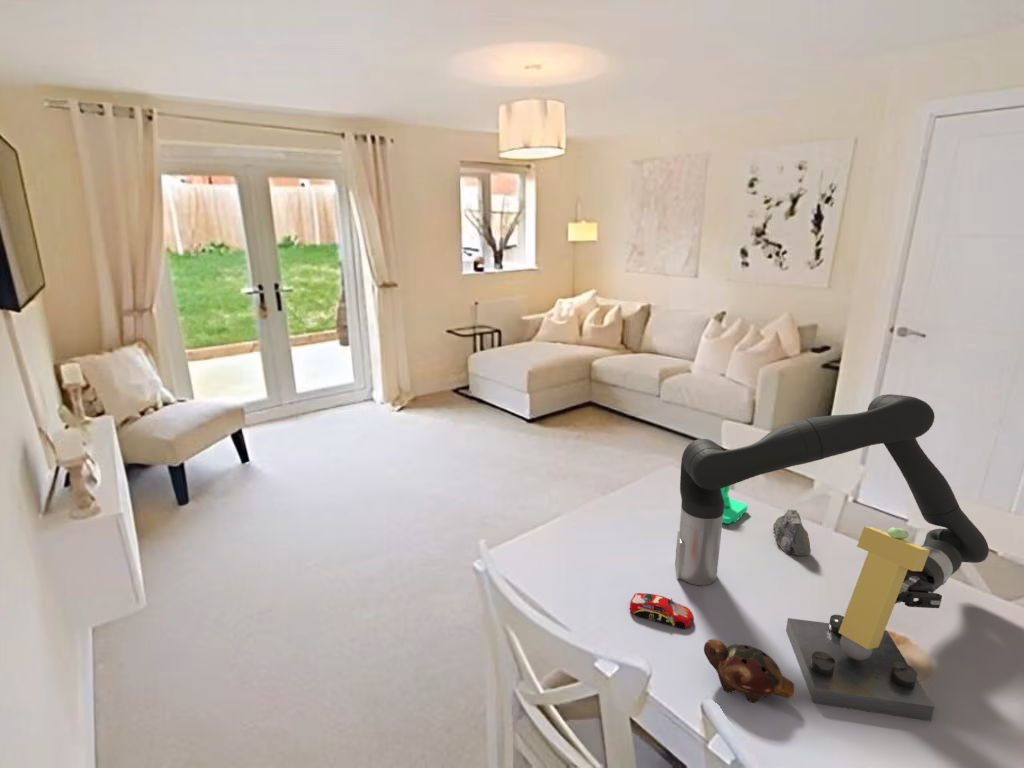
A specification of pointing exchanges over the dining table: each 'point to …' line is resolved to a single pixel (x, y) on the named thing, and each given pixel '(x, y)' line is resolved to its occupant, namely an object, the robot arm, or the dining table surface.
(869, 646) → the yellow t-shaped post
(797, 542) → the mineral rock
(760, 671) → the decorative turtle
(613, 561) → the dining table surface
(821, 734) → the dining table surface
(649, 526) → the dining table surface
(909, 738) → the dining table surface
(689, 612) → the race car
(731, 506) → the camera mount
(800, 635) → the dark grey base plate
